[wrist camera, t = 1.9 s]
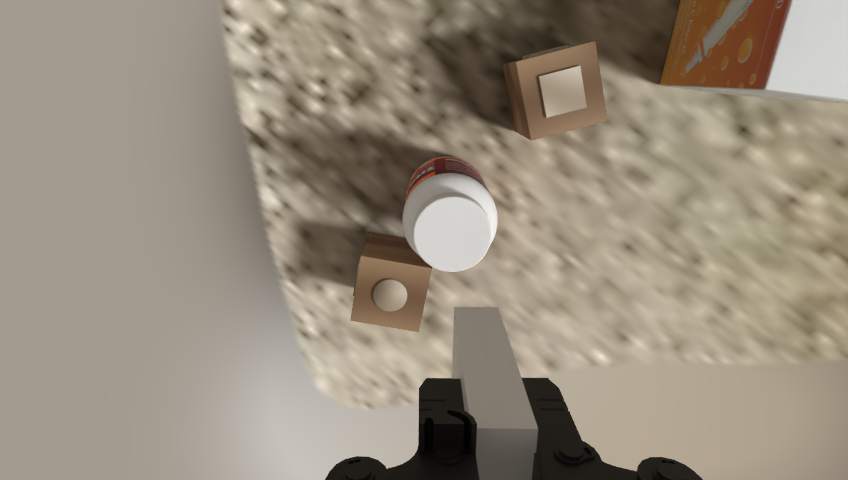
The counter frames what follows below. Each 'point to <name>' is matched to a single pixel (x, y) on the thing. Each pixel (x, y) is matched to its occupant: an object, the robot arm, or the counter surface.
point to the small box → (761, 49)
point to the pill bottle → (449, 214)
